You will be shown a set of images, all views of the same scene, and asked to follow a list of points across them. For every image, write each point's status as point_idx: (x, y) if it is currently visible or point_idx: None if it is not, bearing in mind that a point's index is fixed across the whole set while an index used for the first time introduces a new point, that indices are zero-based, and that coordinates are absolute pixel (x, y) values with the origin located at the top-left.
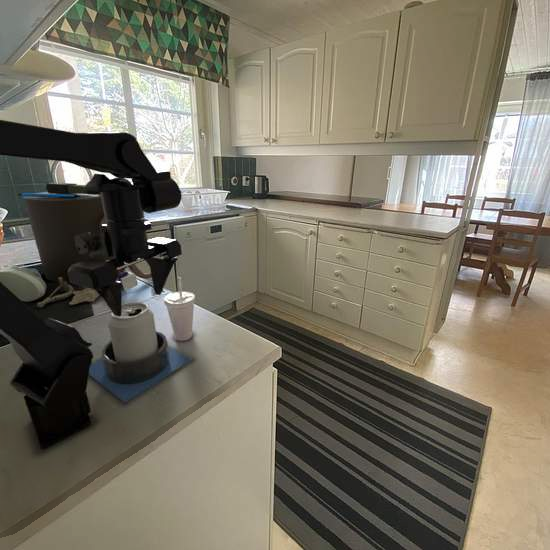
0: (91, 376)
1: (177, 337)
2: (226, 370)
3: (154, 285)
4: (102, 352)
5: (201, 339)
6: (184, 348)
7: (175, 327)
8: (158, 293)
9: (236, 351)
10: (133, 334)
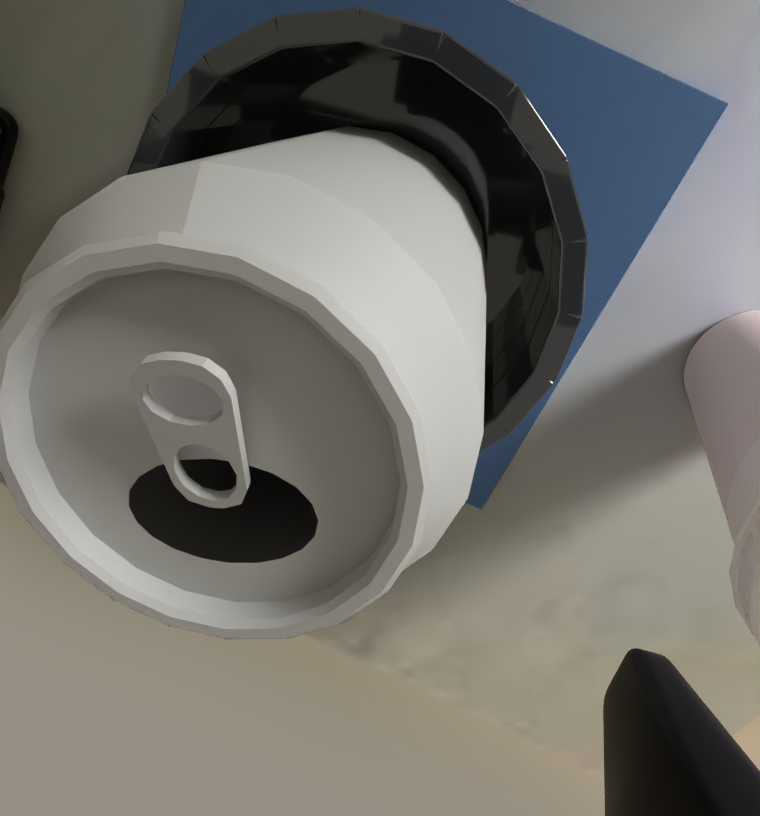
0: (185, 9)
1: (691, 365)
2: (443, 658)
3: (665, 791)
4: (182, 85)
5: (710, 491)
6: (593, 430)
7: (707, 405)
8: (613, 706)
9: (599, 674)
10: (137, 480)
